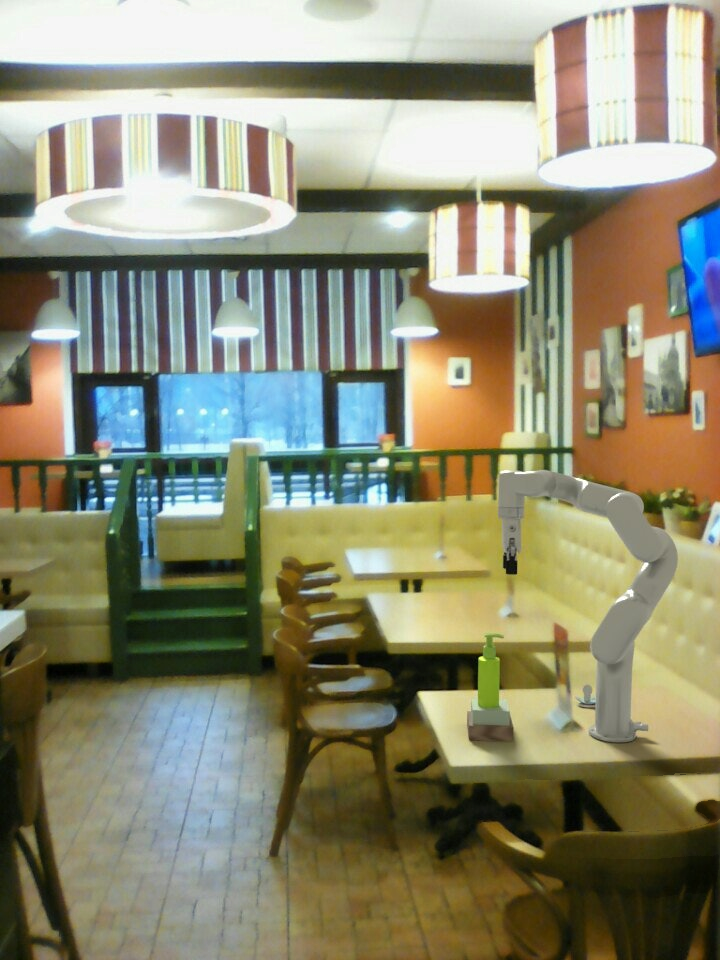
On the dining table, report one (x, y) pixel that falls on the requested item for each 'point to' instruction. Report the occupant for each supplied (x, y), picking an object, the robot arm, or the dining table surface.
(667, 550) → the robot arm
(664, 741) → the dining table surface
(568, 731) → the dining table surface
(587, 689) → the pacifier
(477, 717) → the pale green square tile
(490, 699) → the soap dispenser
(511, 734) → the riser base
